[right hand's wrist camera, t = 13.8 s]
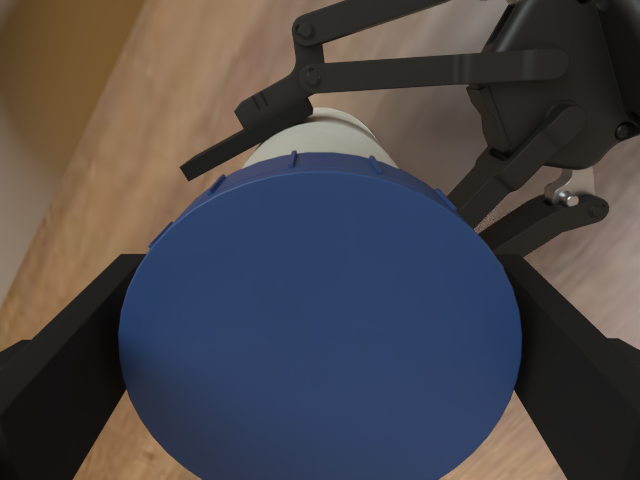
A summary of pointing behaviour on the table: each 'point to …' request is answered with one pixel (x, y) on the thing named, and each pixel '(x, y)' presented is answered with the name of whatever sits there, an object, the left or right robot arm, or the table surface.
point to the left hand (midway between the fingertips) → (239, 242)
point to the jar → (323, 138)
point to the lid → (320, 327)
